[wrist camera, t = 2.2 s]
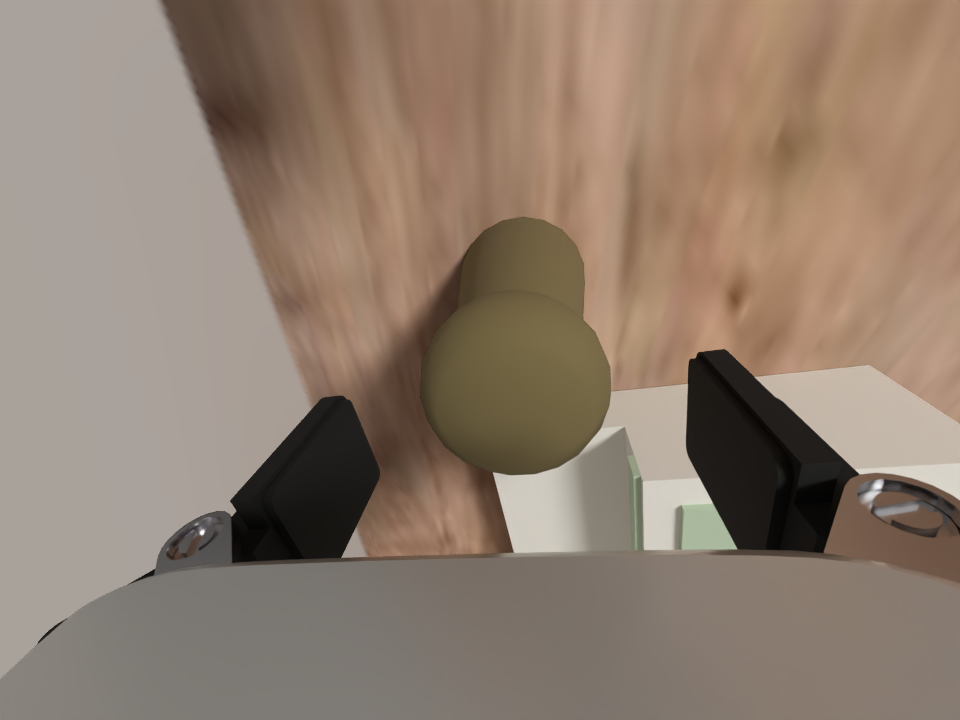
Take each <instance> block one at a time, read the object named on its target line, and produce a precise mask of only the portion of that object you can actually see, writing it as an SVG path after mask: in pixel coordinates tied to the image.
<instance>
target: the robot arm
mask: <svg viewBox="0 0 960 720" xmlns="http://www.w3.org/2000/svg"><path fill="white" fill-rule="evenodd" d="M686 450H687V454H688V457H689V459H690V461H691V463H692V465H693V467H694V469H695V471H696V472H697V474H698V476H699V478H700V480H701V482H702V484H703V486H704V487H705V489H706V491H707V493H708V495H709V497H710V499H711V501H712V502H713V504H714V506H715V508H716V510H717V512H718V514H719V516H720V517H721V519H722V521H723V523H724V525H725V527H726V529H727V531H728V532H729V534H730V536H731V538H732V540H733V542H734V544H735V546H736V547H737V549H696V550H623V551H576V552H530V553H491V554H454V555H419V556H385V557H357V558H356V557H355V558H341V557H342V555H343V553H344V551H345V549H346V547H347V544H348V542H349V540H350V538H351V536H352V534H353V532H354V530H355V528H356V526H357V524H358V522H359V520H360V518H361V515H362V513H363V511H364V509H365V507H366V505H367V503H368V501H369V499H370V497H371V495H372V493H373V491H374V489H375V487H376V484H377V482H378V480H379V476H380V471H379V467H378V464H377V462H376V460H375V457H374V455H373V452H372V450H371V447H370V445H369V443H368V440H367V438H366V435H365V433H364V431H363V428H362V426H361V423H360V421H359V419H358V416H357V414H356V411H355V409H354V407H353V404H352V402H351V401H350V400H346V398H345V397H344V396H333V397H325V398H322V399H321V400H320V401H319V402H318V403H317V404H316V405H315V406H314V407H313V408H312V410H311V411H310V412H309V413H308V414H307V415H306V416H305V418H304V419H303V420H302V421H301V422H300V423H299V424H298V425H297V426H296V428H295V429H294V430H293V431H292V432H291V433H290V434H289V435H288V437H287V438H286V439H285V440H284V441H283V442H282V443H281V445H279V447H278V448H277V449H276V450H275V451H274V452H273V453H272V455H271V456H270V457H269V458H268V459H267V460H266V461H265V462H264V463H263V465H262V466H261V467H260V468H259V469H258V470H257V471H256V473H254V475H253V476H252V477H251V478H250V479H249V480H248V481H247V482H246V483H245V485H244V486H243V487H242V488H241V489H240V490H239V491H238V492H237V494H236V495H235V496H234V497H233V498H232V499H231V501H230V502H231V503H232V504H233V506H234V508H235V509H236V513H235V514H234V515H233V516H232V517H231V516H230V514H228V513H227V512H225V511H216V512H212V513H208V514H205V515H203V516H200V517H198V518H196V519H195V520H193V521H191V522H189V523H188V524H186V525H185V526H183V527H182V528H181V529H179V530H178V531H177V532H176V533H175V534H174V535H173V536H172V537H171V538H169V539H168V541H167V542H166V543H165V545H164V546H163V547H162V549H161V551H160V553H159V555H158V559H157V564H156V568H155V569H154V570H152V571H151V572H149V573H147V574H145V575H144V576H142V577H140V578H138V579H136V580H135V581H133V582H131V583H130V584H128V585H126V586H123V587H120V588H118V589H116V590H114V591H112V592H110V593H107V594H105V595H103V596H102V597H100V598H98V599H96V600H94V601H92V602H90V603H88V604H87V605H85V606H84V607H82V608H80V609H79V610H78V611H76V612H75V613H74V614H72V615H71V616H70V617H69V618H67V619H65V620H63V621H62V622H60V623H58V624H57V625H55V626H54V627H53V628H52V629H50V630H49V631H48V632H47V633H46V634H45V635H44V636H43V637H42V638H41V639H40V640H39V642H38V644H37V645H36V646H35V647H34V648H33V649H32V650H31V651H30V652H29V653H28V654H27V655H25V656H24V657H23V658H22V659H21V660H20V661H19V662H18V663H17V664H16V665H15V666H14V667H13V668H12V669H10V670H9V671H8V672H7V673H6V674H5V675H4V676H3V677H2V678H1V679H0V720H960V500H959V499H957V498H956V497H954V496H953V495H951V494H949V493H947V492H945V491H943V490H941V489H939V488H937V487H935V486H933V485H930V484H927V483H925V482H922V481H919V480H916V479H913V478H909V477H904V476H900V475H895V474H886V473H868V474H859V473H858V472H857V471H856V470H855V469H854V468H853V467H851V466H850V465H849V464H848V463H847V462H846V461H845V460H844V459H843V458H842V457H841V456H840V455H839V454H838V453H837V452H836V451H835V450H834V449H833V448H831V447H830V446H829V445H828V444H827V443H826V442H825V441H824V440H823V439H822V438H821V437H820V436H819V435H818V434H817V433H816V432H815V431H814V430H812V429H811V428H810V427H809V426H808V425H807V424H806V423H805V422H804V421H803V420H802V419H801V418H800V417H799V416H798V415H797V414H796V413H795V412H794V411H792V410H791V409H790V408H789V407H788V406H787V405H786V404H785V403H784V402H783V401H781V400H780V399H779V398H776V397H775V396H774V395H773V394H772V393H771V392H769V391H768V390H767V389H766V388H765V387H764V386H763V385H762V384H761V383H760V382H759V381H758V380H757V379H756V378H755V377H754V376H753V375H752V374H751V373H750V372H749V371H748V370H747V369H746V368H744V367H743V366H742V365H741V364H740V363H739V362H738V361H737V360H736V359H735V358H734V357H733V356H732V355H731V354H730V353H729V352H728V351H727V350H725V349H722V350H713V351H705V352H699V353H698V354H697V356H696V358H695V359H690V361H689V366H688V394H687V421H686Z"/></svg>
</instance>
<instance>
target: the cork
mask: <svg viewBox="0 0 960 720" xmlns="http://www.w3.org/2000/svg"><path fill="white" fill-rule="evenodd" d="M584 287H585V280H584V263H583V261H582V258H581V256H580V254H579V251H578V249H577V246H576V245H575V243H574V242H573V241H572V240H571V239H570V238H569V237H568V236H567V235H566V234H565V232H564V231H563V230H561V229H559V228H558V227H556V226H554V225H552V224H550V223H548V222H546V221H544V220H539V219H533V218H527V217H520V218H514V219H509V220H503V221H501V222H499V223H497V224H495V225H493V226H492V227H490V228H488V229H486V230H484V231H483V232H482V234H481V235H480V236H479V237H478V238H477V239H476V240H475V241H474V242H473V243H472V244H471V246H470V248H469V250H468V252H467V254H466V257H465V259H464V261H463V264H462V273H461V281H460V290H459V299H458V307H457V310H456V311H455V312H454V313H453V314H452V315H451V316H450V317H449V318H448V319H447V320H446V321H445V322H444V323H443V324H442V325H441V326H440V327H439V328H438V329H437V331H436V332H435V334H434V336H433V338H432V340H431V342H430V344H429V347H428V349H427V351H426V353H425V355H424V357H423V360H422V367H421V384H420V399H421V402H422V405H423V408H424V411H425V415H426V418H427V420H428V422H429V424H430V426H431V427H432V429H433V430H434V432H435V433H436V435H437V436H438V437H439V439H440V440H441V441H442V443H443V444H444V446H445V447H446V448H447V449H449V450H450V451H451V452H453V453H454V454H455V455H456V456H458V457H459V458H460V459H462V460H463V461H464V462H467V463H469V464H471V465H473V466H476V467H478V468H480V469H483V470H485V471H489V472H494V473H500V474H505V475H531V474H538V473H541V472H545V471H548V470H551V469H555V468H558V467H560V466H561V465H563V464H565V463H566V462H568V461H570V460H571V459H573V458H575V457H576V456H578V455H579V454H580V453H581V452H582V450H583V449H584V448H585V447H586V446H587V445H588V443H589V442H590V441H591V440H592V439H593V438H594V436H595V435H596V434H597V433H598V432H599V431H600V429H601V427H602V424H603V422H604V419H605V416H606V414H607V411H608V408H609V406H610V398H611V376H610V366H609V363H608V360H607V358H606V355H605V353H604V351H603V349H602V346H601V344H600V342H599V340H598V337H597V335H596V333H595V331H594V330H593V329H592V328H591V327H590V326H589V325H588V324H587V323H586V322H585V321H584V320H583V310H584Z"/></svg>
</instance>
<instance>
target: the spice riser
mask: <svg viewBox="0 0 960 720" xmlns="http://www.w3.org/2000/svg"><path fill="white" fill-rule="evenodd" d="M755 378H756V379H757V380H758V381H759V382H760V383H761V384H762V385H763V386H764V387H765V388H766V389H767V390H768V391H769V392H771V393H772V394H773V395H774V396H775V397H776V398H779V399H780V400H781V401H783V402H784V403H785V404H786V405H787V406H788V407H789V408H790V409H791V410H792V411H794V412H795V413H796V414H797V415H798V416H799V417H800V418H801V419H802V420H803V421H804V422H805V423H806V424H807V425H808V426H809V427H810V428H811V429H812V430H814V431H815V432H816V433H817V434H818V435H819V436H820V437H821V438H822V439H823V440H824V441H825V442H826V443H827V444H828V445H829V446H830V447H831V448H833V449H834V450H835V451H836V452H837V453H838V454H839V455H840V456H841V457H842V458H843V459H844V460H845V461H846V462H847V463H848V464H849V465H850V466H851V467H853V468H854V469H855V470H856V471H857V472H858V473H859V474H868V473H886V474H895V475H900V476H904V477H909V478H913V479H916V480H919V481H922V482H925V483H927V484H930V485H933V486H935V487H937V488H939V489H941V490H943V491H945V492H947V493H949V494H951V495H953V496H954V497H956V498H957V499H959V500H960V424H959V423H957V422H956V421H954V420H953V419H951V418H950V417H948V416H947V415H945V414H944V413H942V412H941V411H939V410H937V409H936V408H934V407H933V406H931V405H930V404H928V403H927V402H925V401H924V400H922V399H921V398H919V397H917V396H916V395H914V394H913V393H911V392H910V391H908V390H907V389H905V388H904V387H902V386H901V385H899V384H897V383H896V382H894V381H893V380H891V379H890V378H888V377H887V376H885V375H884V374H882V373H881V372H879V371H877V370H876V369H874V368H873V367H871V366H870V365H865V366H855V367H845V368H836V369H826V370H816V371H807V372H797V373H787V374H778V375H768V376H759V377H755ZM687 394H688V384H681V385H672V386H662V387H652V388H643V389H633V390H623V391H614V392H611V398H610V406H609V408H608V411H607V414H606V416H605V419H604V422H603V424H602V427H601V429H600V431H599V432H598V433H597V434H596V435H595V436H594V438H593V439H592V440H591V441H590V442H589V443H588V445H587V446H586V447H585V448H584V449H583V450H582V452H581V453H580V454H579V455H578V456H576V457H575V458H573V459H571V460H570V461H568V462H566V463H565V464H563V465H561V466H560V467H558V468H555V469H551V470H548V471H545V472H541V473H538V474H531V475H505V474H500V473H494V472H493V474H494V478H495V482H496V486H497V490H498V494H499V497H500V501H501V505H502V509H503V513H504V517H505V520H506V524H507V528H508V532H509V536H510V539H511V543H512V547H513V551H514V553H530V552H576V551H623V550H696V549H737V547H736V546H735V544H734V542H733V540H732V538H731V536H730V534H729V532H728V531H727V529H726V527H725V525H724V523H723V521H722V519H721V517H720V516H719V514H718V512H717V510H716V508H715V506H714V504H713V502H712V501H711V499H710V497H709V495H708V493H707V491H706V489H705V487H704V486H703V484H702V482H701V480H700V478H699V476H698V474H697V472H696V471H695V469H694V467H693V465H692V463H691V461H690V459H689V457H688V454H687V450H686V421H687Z"/></svg>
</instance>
